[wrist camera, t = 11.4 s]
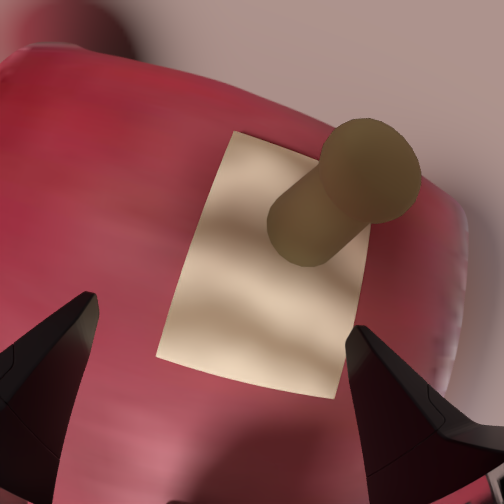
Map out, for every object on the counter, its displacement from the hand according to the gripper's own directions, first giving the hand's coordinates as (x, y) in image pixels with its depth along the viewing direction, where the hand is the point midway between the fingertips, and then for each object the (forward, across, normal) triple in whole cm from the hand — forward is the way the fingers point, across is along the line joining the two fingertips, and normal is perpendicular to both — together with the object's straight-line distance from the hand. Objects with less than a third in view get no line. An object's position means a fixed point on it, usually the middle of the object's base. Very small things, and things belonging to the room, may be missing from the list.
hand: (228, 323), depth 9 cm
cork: (+12, -6, +2) cm, 14 cm away
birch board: (+12, -4, +5) cm, 13 cm away
